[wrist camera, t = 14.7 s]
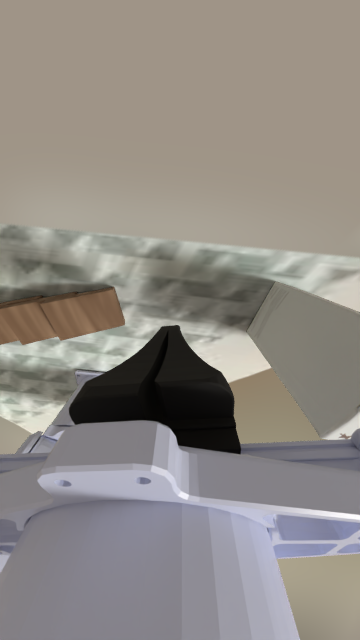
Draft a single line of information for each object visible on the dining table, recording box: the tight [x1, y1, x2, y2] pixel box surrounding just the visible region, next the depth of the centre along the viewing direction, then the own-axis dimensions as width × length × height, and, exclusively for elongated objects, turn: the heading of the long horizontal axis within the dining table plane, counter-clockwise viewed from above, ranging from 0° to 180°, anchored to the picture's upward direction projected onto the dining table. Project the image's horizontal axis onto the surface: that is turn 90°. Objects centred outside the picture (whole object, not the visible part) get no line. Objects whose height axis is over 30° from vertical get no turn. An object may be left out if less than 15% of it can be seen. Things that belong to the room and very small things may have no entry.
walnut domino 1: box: [0, 295, 43, 345], centre depth 21 cm, size 2×5×8 cm
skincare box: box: [247, 282, 360, 440], centre depth 16 cm, size 8×6×15 cm
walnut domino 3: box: [40, 287, 125, 340], centre depth 21 cm, size 2×5×8 cm
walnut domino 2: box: [0, 292, 78, 345], centre depth 21 cm, size 2×5×8 cm
